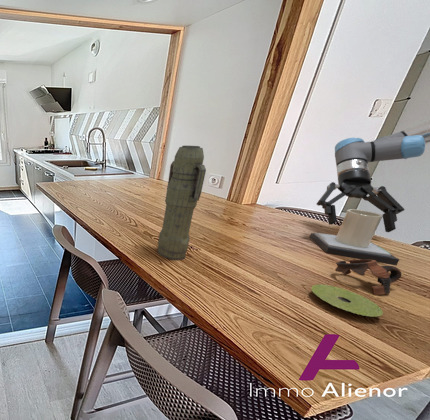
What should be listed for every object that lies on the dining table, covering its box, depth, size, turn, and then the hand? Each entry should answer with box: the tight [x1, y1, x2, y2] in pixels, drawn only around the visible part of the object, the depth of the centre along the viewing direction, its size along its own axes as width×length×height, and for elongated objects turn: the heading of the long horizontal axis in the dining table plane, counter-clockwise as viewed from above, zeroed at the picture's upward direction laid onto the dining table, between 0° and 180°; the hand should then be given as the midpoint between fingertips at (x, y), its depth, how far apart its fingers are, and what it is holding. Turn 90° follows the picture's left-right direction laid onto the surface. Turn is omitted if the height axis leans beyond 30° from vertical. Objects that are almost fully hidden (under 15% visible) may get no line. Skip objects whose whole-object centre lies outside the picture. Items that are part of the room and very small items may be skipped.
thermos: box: [156, 145, 207, 261], centre depth 76 cm, size 9×12×35 cm
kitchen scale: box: [309, 231, 400, 266], centre depth 85 cm, size 16×14×3 cm
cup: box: [336, 208, 383, 248], centre depth 83 cm, size 7×7×11 cm
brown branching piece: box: [334, 259, 402, 296], centre depth 66 cm, size 12×10×8 cm
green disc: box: [310, 283, 384, 318], centre depth 58 cm, size 11×11×2 cm
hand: (360, 226), depth 82 cm, fingers open, 13 cm apart
